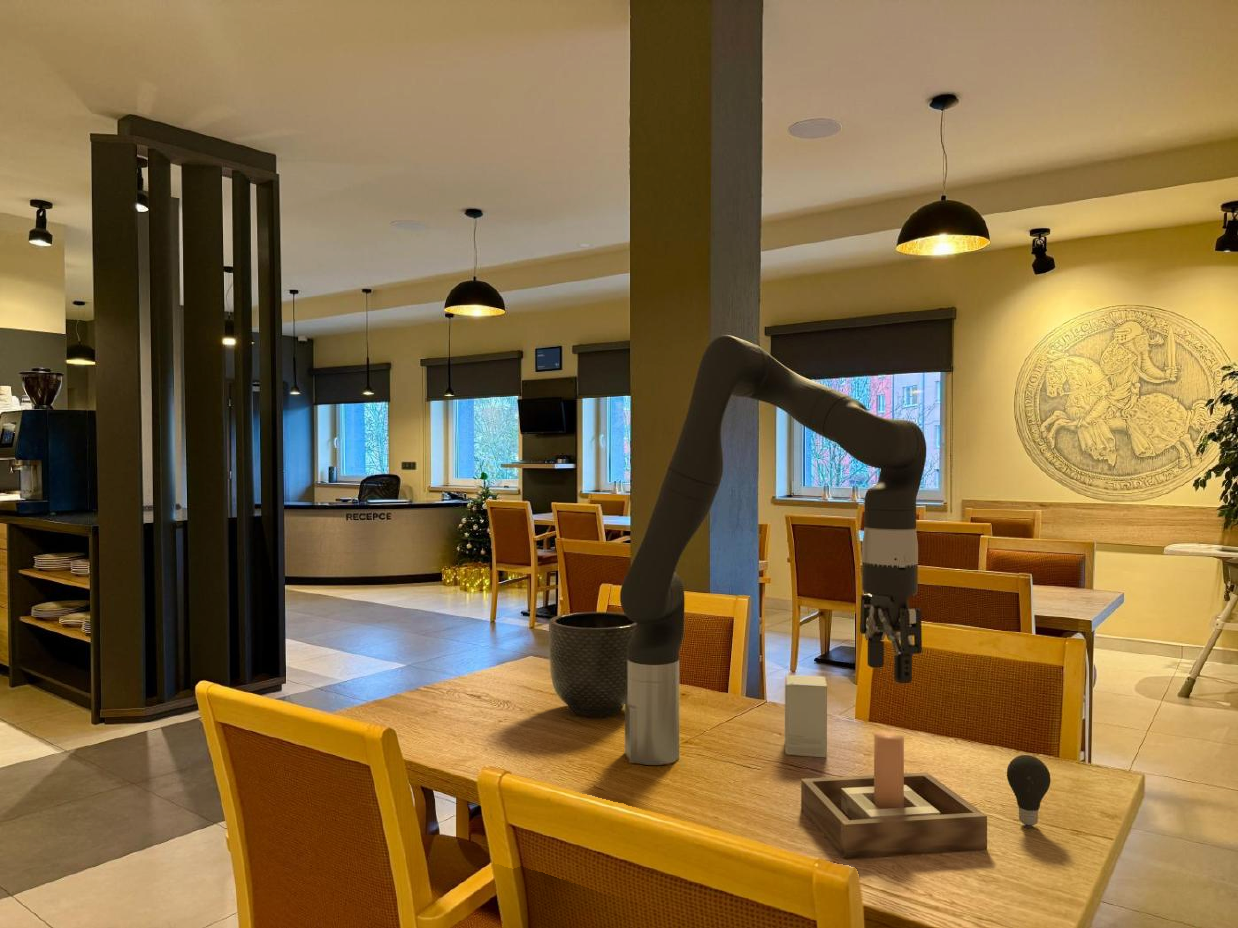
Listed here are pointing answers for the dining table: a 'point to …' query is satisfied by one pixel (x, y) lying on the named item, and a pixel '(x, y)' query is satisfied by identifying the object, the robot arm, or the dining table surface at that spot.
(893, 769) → the peg
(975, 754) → the dining table surface
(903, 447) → the robot arm
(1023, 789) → the light bulb
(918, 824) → the box
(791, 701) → the supplement box
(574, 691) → the planter
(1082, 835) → the dining table surface
